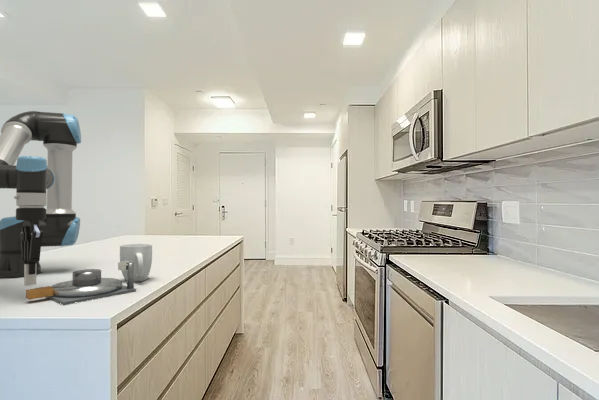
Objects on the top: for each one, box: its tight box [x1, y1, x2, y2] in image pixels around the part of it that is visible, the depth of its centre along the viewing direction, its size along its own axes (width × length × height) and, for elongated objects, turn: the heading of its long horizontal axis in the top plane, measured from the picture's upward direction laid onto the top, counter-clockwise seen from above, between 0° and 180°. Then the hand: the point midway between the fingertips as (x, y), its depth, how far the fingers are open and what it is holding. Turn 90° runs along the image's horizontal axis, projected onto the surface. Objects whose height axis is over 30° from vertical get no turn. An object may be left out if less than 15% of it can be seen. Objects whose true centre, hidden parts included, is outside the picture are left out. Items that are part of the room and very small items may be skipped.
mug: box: [119, 242, 153, 283], centre depth 136 cm, size 15×11×13 cm
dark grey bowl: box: [71, 268, 102, 287], centre depth 120 cm, size 8×8×4 cm
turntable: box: [25, 277, 123, 300], centre depth 117 cm, size 20×26×2 cm
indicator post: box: [117, 261, 135, 289], centre depth 122 cm, size 5×5×9 cm
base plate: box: [45, 284, 137, 306], centre depth 119 cm, size 21×21×1 cm
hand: (30, 284), depth 114 cm, fingers closed
